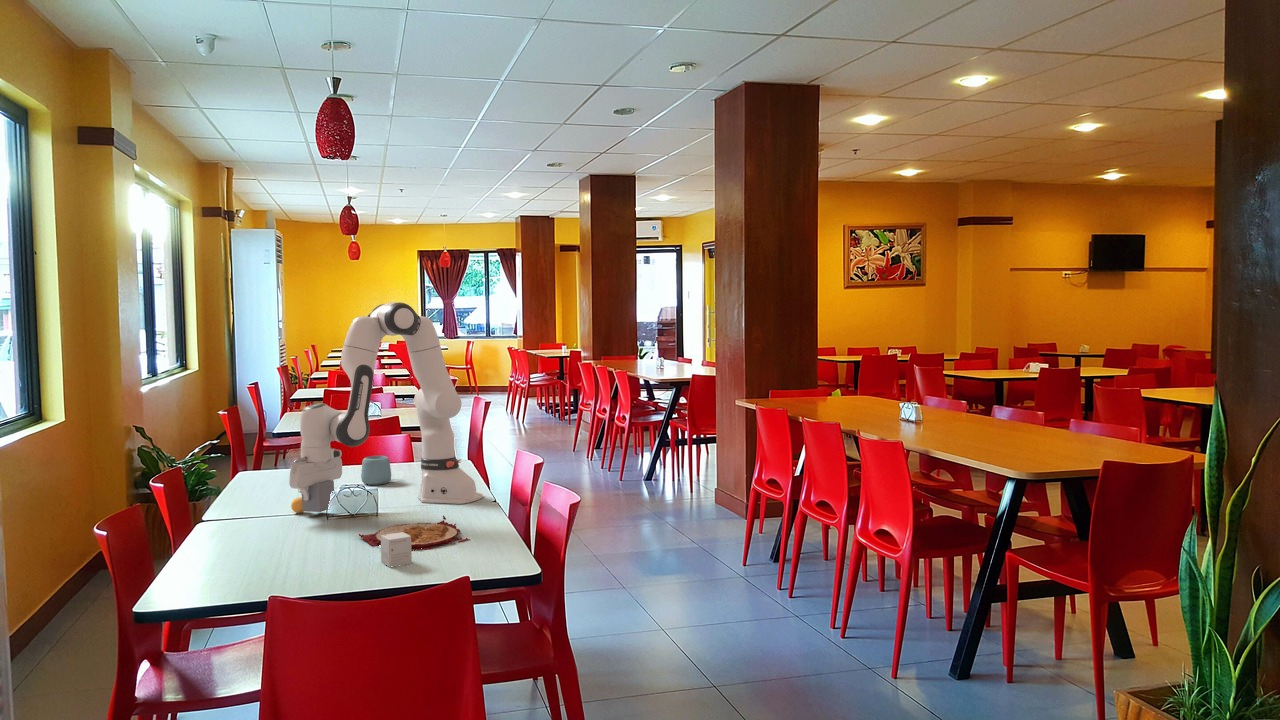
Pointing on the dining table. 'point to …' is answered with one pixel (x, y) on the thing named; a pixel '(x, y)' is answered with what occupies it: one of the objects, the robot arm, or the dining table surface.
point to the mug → (376, 470)
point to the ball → (297, 505)
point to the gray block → (318, 496)
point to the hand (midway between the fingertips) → (316, 497)
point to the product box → (396, 549)
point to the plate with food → (420, 534)
